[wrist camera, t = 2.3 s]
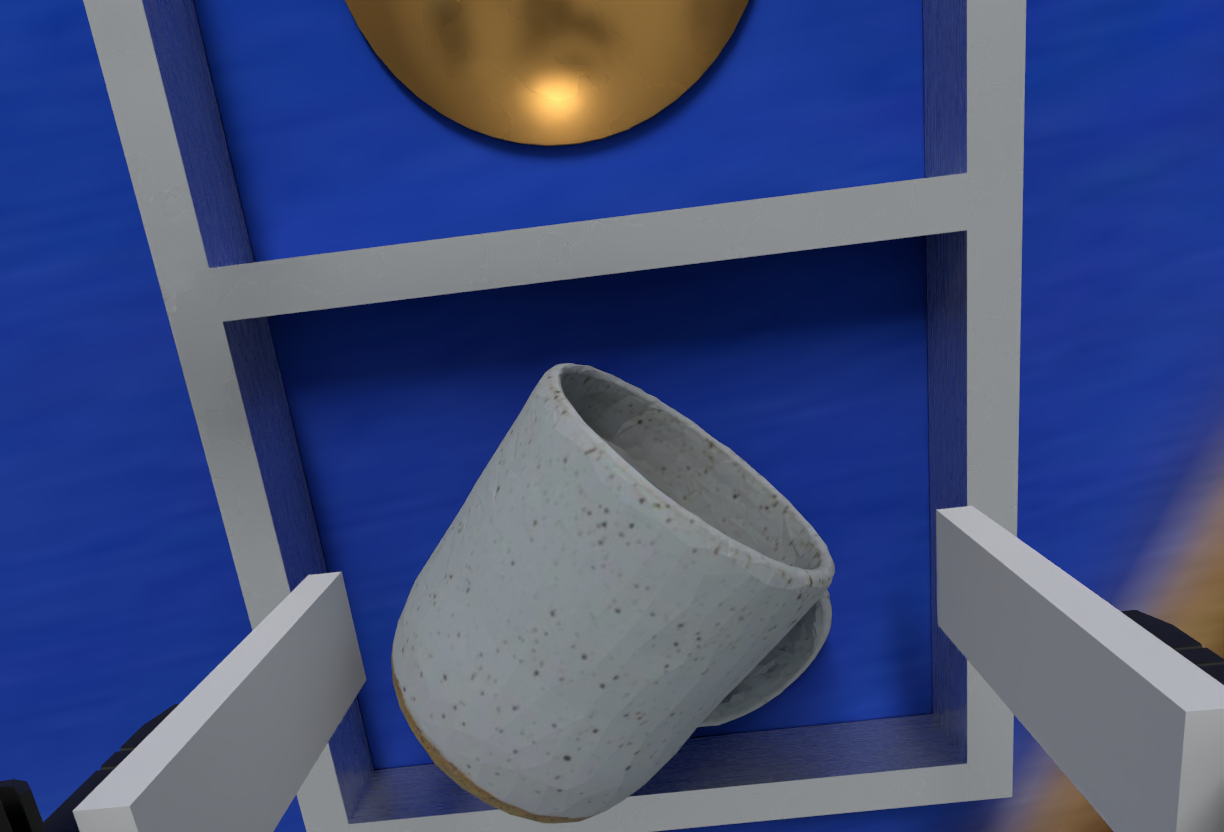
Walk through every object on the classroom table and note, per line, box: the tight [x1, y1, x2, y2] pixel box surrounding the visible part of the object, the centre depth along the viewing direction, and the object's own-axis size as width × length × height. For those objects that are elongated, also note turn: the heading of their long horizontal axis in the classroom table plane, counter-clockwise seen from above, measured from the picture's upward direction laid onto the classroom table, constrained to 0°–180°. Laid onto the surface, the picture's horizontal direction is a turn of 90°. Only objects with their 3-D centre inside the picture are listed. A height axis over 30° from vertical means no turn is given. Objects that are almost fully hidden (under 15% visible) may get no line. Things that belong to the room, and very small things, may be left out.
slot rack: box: [83, 0, 1026, 832], centre depth 16 cm, size 19×31×2 cm, turn 7°
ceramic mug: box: [391, 363, 835, 824], centre depth 15 cm, size 10×8×7 cm
